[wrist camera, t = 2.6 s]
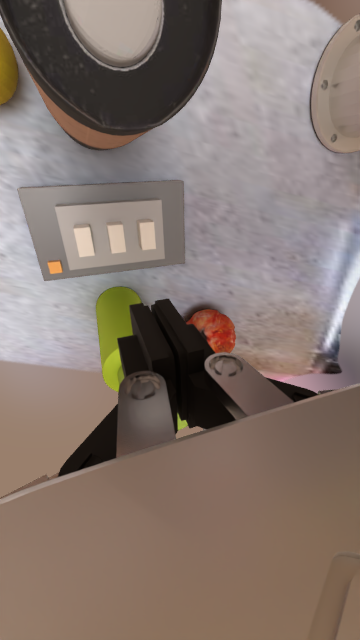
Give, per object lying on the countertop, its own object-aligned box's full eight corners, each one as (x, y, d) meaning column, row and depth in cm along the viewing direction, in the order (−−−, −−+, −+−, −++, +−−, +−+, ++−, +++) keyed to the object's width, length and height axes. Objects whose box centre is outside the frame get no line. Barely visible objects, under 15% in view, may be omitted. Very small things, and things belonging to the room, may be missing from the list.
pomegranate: (222, 308, 44) (211, 290, 34) (248, 346, 41) (244, 338, 32) (184, 333, 45) (163, 322, 35) (207, 372, 42) (191, 371, 33)
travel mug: (80, 22, 22) (77, -385, 6) (150, 105, 26) (266, 3, 10) (30, 104, 24) (-88, -38, 7) (103, 171, 28) (136, 178, 11)
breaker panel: (177, 180, 30) (196, 182, 26) (180, 258, 35) (195, 273, 30) (21, 187, 26) (7, 192, 22) (46, 275, 31) (39, 294, 26)
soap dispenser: (152, 319, 38) (207, 438, 21) (102, 331, 36) (119, 469, 20) (144, 280, 35) (202, 383, 18) (90, 292, 33) (98, 416, 17)
